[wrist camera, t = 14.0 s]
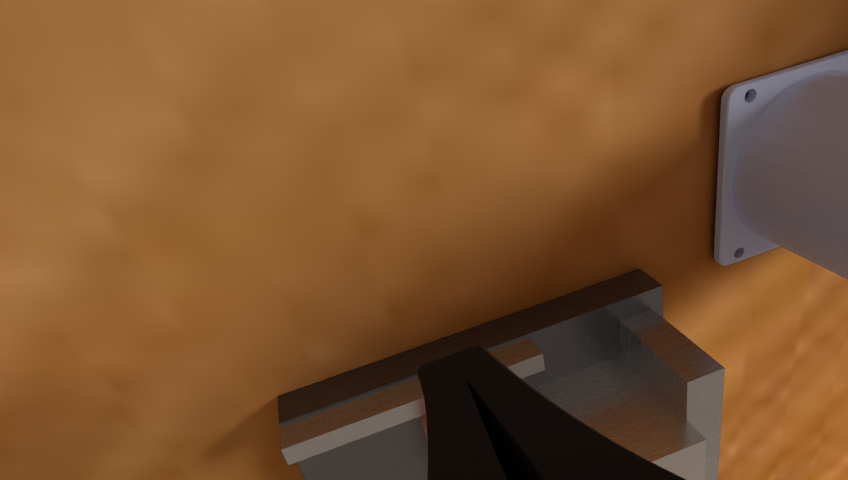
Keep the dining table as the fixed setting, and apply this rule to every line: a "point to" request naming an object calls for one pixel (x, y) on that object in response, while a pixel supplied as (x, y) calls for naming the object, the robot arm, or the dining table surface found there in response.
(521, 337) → the press bed
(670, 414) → the housing
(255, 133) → the dining table surface
